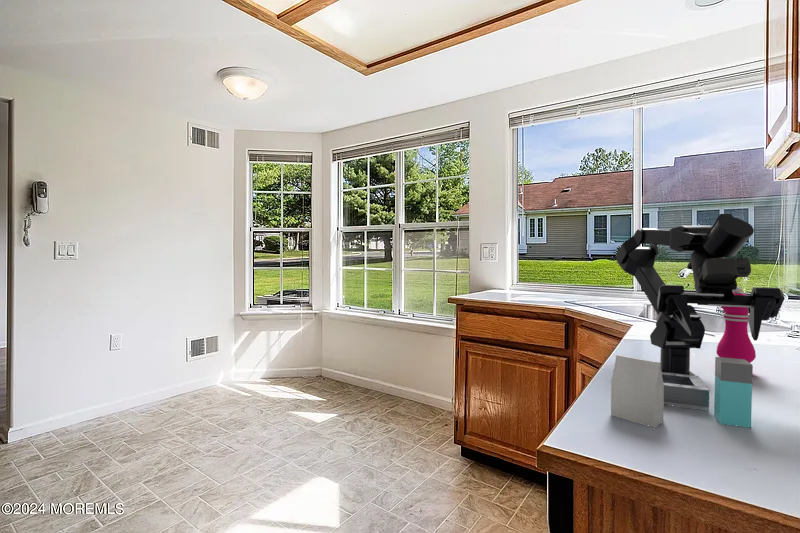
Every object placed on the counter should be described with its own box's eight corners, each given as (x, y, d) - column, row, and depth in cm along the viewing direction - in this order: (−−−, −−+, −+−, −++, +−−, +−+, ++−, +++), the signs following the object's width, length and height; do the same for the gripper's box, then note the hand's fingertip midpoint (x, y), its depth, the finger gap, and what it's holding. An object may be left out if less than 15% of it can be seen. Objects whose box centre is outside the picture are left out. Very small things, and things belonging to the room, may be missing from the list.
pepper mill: (747, 369, 102) (748, 285, 101) (761, 377, 95) (763, 288, 94) (711, 366, 104) (713, 285, 104) (722, 374, 97) (724, 287, 97)
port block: (639, 387, 87) (639, 369, 87) (697, 394, 83) (698, 375, 83) (643, 402, 78) (643, 382, 78) (709, 410, 74) (709, 390, 74)
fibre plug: (714, 415, 72) (715, 356, 72) (743, 419, 70) (744, 359, 70) (719, 423, 69) (721, 362, 68) (751, 428, 67) (752, 364, 67)
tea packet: (654, 427, 67) (655, 364, 67) (610, 415, 72) (611, 356, 72) (663, 421, 69) (664, 361, 69) (620, 410, 75) (621, 353, 74)
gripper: (659, 244, 84) (666, 305, 74) (781, 242, 76) (807, 311, 66) (654, 281, 91) (660, 342, 81) (765, 284, 83) (786, 351, 73)
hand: (723, 336), depth 75 cm, fingers open, 9 cm apart
